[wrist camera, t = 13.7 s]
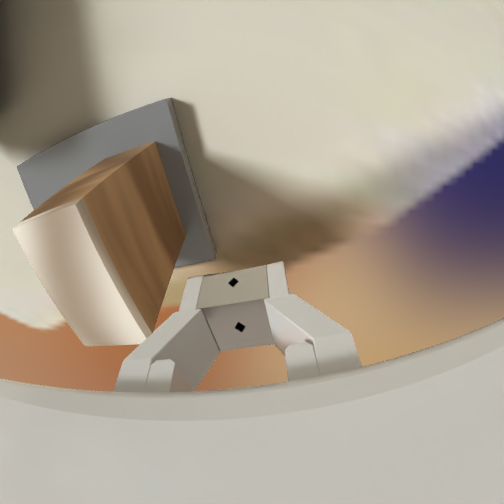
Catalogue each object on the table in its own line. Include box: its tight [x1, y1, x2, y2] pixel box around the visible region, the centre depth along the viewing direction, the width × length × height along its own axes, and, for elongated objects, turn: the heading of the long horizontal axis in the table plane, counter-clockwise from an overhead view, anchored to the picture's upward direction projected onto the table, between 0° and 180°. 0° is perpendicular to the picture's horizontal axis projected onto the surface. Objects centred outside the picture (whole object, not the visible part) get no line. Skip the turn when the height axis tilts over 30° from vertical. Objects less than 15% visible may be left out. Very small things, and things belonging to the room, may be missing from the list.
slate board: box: [17, 98, 216, 267], centre depth 20 cm, size 14×12×1 cm
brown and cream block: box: [12, 141, 186, 346], centre depth 15 cm, size 4×7×10 cm, turn 12°
